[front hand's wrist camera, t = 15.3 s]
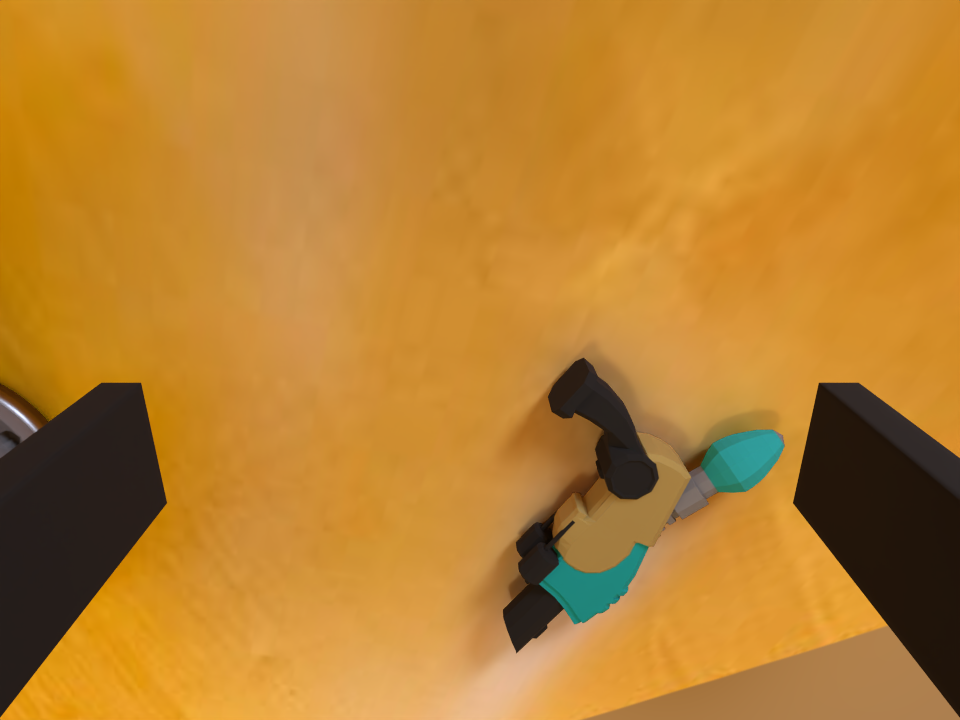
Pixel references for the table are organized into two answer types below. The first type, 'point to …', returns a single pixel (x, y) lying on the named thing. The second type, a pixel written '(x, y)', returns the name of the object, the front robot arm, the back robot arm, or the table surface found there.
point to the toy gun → (619, 507)
